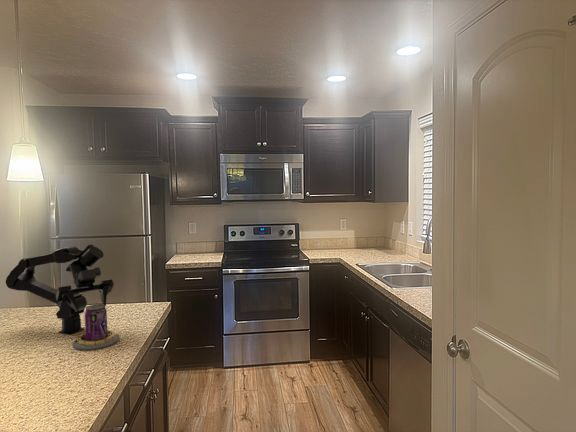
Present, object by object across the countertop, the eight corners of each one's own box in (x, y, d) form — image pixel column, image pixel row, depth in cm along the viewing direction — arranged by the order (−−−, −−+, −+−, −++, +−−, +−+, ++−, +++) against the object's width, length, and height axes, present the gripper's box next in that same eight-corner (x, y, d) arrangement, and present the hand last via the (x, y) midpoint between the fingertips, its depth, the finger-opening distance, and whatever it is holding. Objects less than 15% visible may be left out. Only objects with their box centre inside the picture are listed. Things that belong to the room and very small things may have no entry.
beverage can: (98, 343, 134) (97, 309, 133) (80, 342, 136) (79, 308, 135) (111, 336, 141) (110, 304, 140) (95, 335, 142) (93, 303, 142)
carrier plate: (62, 347, 134) (62, 339, 134) (98, 332, 148) (98, 326, 148) (94, 353, 129) (94, 345, 128) (128, 337, 142) (128, 331, 142)
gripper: (56, 264, 136) (67, 301, 129) (111, 258, 149) (123, 291, 142) (51, 283, 142) (61, 319, 135) (104, 275, 155) (116, 308, 148)
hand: (91, 308), depth 139 cm, fingers open, 9 cm apart
